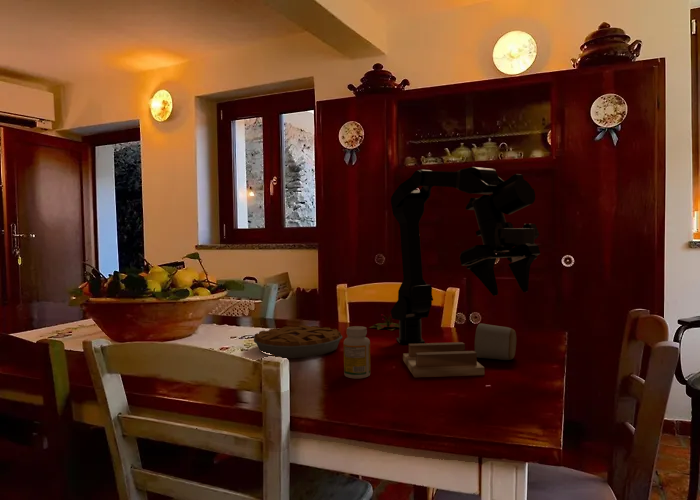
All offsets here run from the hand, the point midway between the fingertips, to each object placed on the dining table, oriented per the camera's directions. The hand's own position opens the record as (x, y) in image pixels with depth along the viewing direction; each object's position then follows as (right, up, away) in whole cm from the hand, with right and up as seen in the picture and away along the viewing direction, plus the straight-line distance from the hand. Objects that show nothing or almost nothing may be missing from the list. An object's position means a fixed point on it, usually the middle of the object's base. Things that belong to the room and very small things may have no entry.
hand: (511, 293), depth 105 cm
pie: (-46, -16, +22) cm, 54 cm away
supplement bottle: (-32, -16, -3) cm, 36 cm away
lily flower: (-22, -15, +50) cm, 56 cm away
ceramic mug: (0, -15, +10) cm, 19 cm away
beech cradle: (-14, -16, +2) cm, 21 cm away
